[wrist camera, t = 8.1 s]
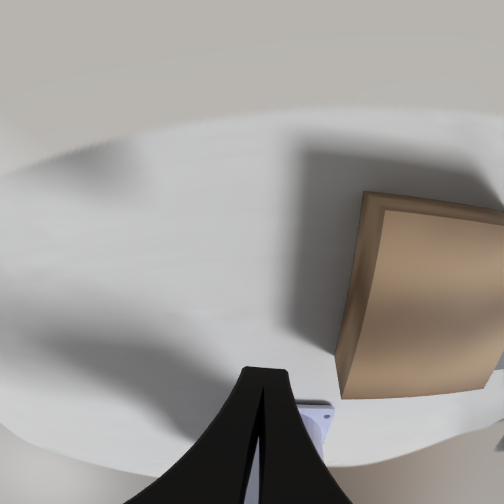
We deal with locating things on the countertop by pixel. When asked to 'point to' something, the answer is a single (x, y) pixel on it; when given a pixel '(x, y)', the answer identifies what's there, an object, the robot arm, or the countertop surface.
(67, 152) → the countertop surface
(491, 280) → the block
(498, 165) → the countertop surface
